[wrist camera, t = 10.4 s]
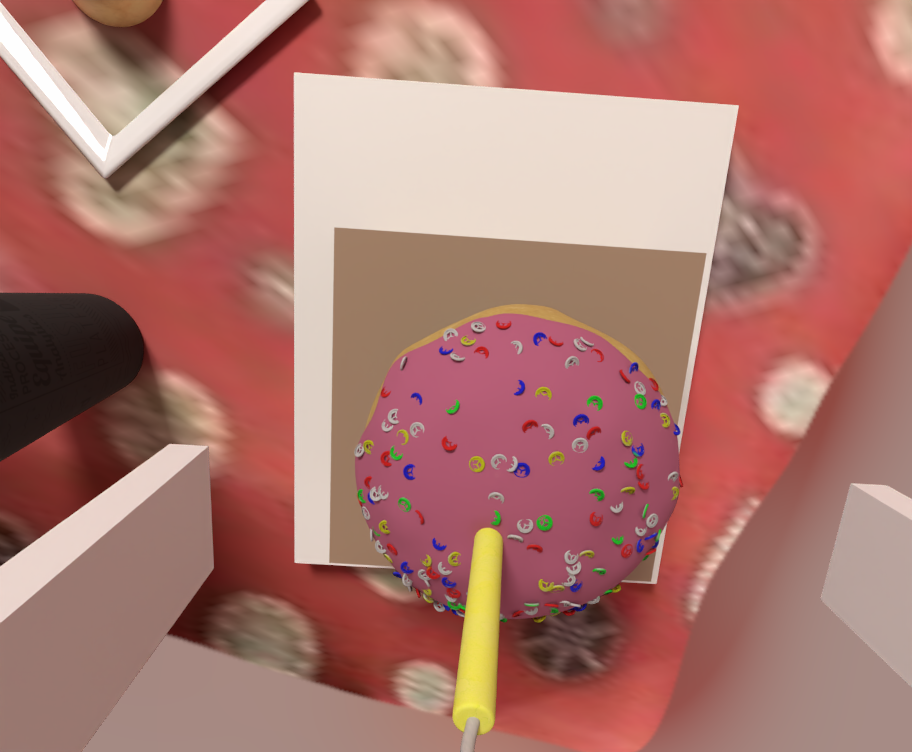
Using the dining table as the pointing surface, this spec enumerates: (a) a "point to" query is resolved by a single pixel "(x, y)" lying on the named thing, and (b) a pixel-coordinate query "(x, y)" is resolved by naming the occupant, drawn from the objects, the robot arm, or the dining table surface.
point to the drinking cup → (60, 360)
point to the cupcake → (515, 476)
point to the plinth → (481, 198)
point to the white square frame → (125, 6)
